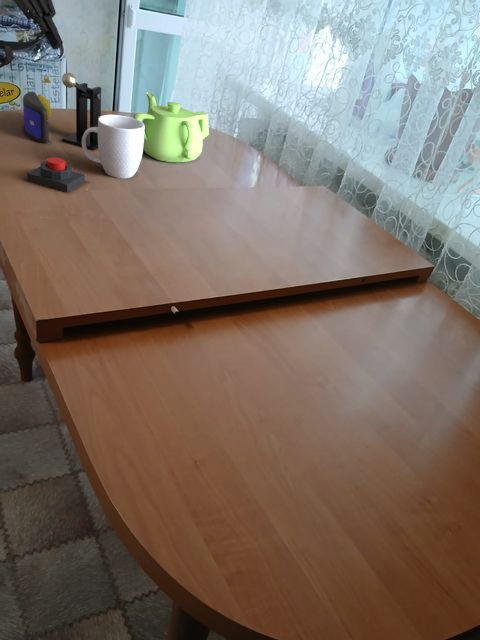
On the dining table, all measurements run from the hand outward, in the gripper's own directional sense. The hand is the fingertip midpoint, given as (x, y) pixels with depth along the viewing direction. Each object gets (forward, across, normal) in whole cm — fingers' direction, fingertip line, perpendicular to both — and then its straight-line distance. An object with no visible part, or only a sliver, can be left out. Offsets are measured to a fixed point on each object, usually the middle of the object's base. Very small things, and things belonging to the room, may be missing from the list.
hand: (58, 46), depth 133 cm
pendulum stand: (+18, -9, -17) cm, 26 cm away
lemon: (+6, -8, -29) cm, 31 cm away
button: (+28, +18, -2) cm, 33 cm away
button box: (+30, +18, -4) cm, 35 cm away
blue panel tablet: (+11, -1, -24) cm, 26 cm away
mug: (+32, +1, -3) cm, 32 cm away
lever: (+9, -4, -6) cm, 12 cm away
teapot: (+30, -24, -5) cm, 38 cm away
